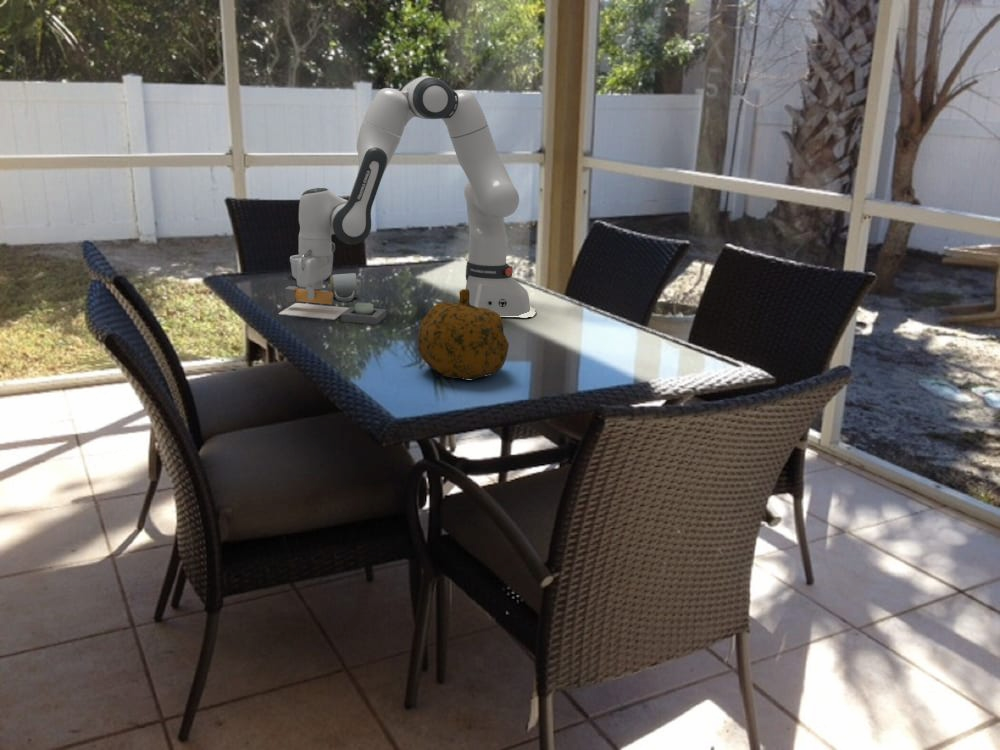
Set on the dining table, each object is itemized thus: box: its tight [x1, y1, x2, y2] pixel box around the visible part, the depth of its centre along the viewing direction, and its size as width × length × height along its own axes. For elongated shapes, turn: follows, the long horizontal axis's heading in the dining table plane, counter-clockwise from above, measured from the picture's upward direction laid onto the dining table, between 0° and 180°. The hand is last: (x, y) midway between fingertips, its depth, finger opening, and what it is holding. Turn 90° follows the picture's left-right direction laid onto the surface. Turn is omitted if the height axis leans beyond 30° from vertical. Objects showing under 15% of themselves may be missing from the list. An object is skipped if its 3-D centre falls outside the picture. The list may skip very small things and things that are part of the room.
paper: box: [278, 302, 350, 321], centre depth 265 cm, size 16×14×1 cm
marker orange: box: [285, 286, 334, 305], centre depth 264 cm, size 12×4×4 cm, turn 82°
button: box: [354, 302, 374, 315], centre depth 260 cm, size 5×5×2 cm
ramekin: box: [289, 254, 329, 281], centre depth 308 cm, size 13×13×7 cm
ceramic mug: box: [329, 272, 358, 303], centre depth 282 cm, size 10×8×7 cm
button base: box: [340, 306, 387, 325], centre depth 260 cm, size 10×10×2 cm
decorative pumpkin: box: [417, 288, 510, 380], centre depth 214 cm, size 20×21×20 cm
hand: (314, 297), depth 264 cm, fingers closed on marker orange, 3 cm apart
